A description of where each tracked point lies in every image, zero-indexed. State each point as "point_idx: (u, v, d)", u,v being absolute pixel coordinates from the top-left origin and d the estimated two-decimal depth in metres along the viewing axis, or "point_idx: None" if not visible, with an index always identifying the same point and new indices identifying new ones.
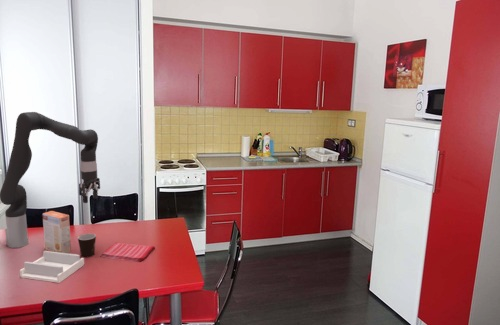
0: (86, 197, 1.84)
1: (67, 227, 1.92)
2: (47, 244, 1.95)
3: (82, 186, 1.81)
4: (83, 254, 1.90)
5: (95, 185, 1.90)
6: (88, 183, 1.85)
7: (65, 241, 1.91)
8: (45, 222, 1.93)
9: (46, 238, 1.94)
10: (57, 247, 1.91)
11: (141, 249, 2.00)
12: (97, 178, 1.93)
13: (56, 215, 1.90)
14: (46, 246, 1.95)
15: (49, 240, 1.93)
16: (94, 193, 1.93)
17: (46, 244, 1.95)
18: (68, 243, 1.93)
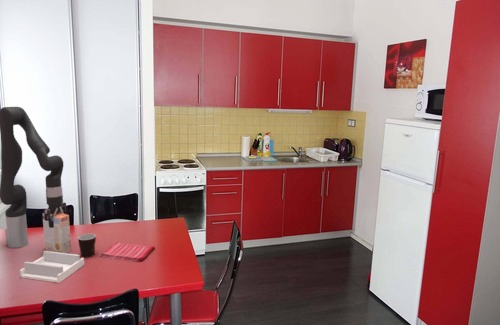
0: (52, 222, 1.89)
1: (67, 227, 1.92)
2: (47, 244, 1.95)
3: (47, 212, 1.85)
4: (83, 254, 1.90)
5: (61, 210, 1.94)
6: (53, 208, 1.89)
7: (65, 241, 1.91)
8: (45, 222, 1.93)
9: (46, 238, 1.94)
10: (57, 247, 1.91)
11: (141, 249, 2.00)
12: (64, 203, 1.97)
13: (56, 215, 1.90)
14: (46, 246, 1.95)
15: (49, 240, 1.93)
16: None
17: (46, 244, 1.95)
18: (68, 243, 1.93)
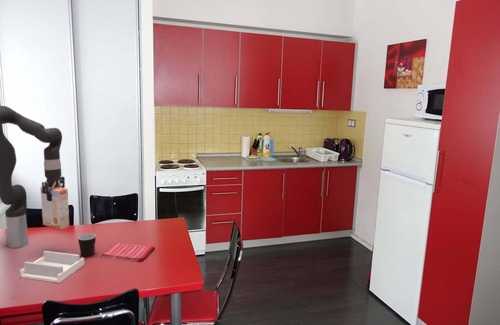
0: (50, 195, 1.86)
1: (66, 201, 1.89)
2: (44, 218, 1.92)
3: (45, 185, 1.82)
4: (83, 254, 1.90)
5: (59, 183, 1.91)
6: (51, 181, 1.86)
7: (63, 215, 1.88)
8: (43, 196, 1.90)
9: (44, 212, 1.91)
10: (55, 221, 1.88)
11: (141, 249, 2.00)
12: (62, 177, 1.94)
13: (54, 188, 1.87)
14: (44, 220, 1.93)
15: (47, 214, 1.90)
16: None
17: (44, 219, 1.92)
18: (66, 217, 1.90)
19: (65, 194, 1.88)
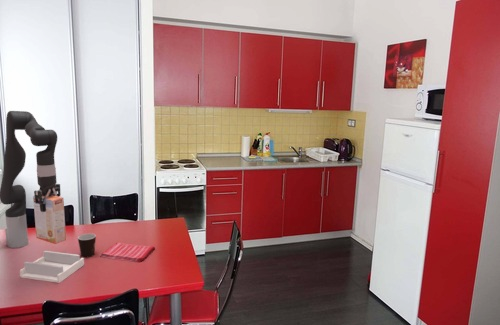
0: (44, 205, 1.65)
1: (62, 211, 1.68)
2: (38, 231, 1.71)
3: (38, 194, 1.61)
4: (83, 254, 1.90)
5: (54, 192, 1.70)
6: (45, 190, 1.65)
7: (59, 227, 1.68)
8: (36, 206, 1.69)
9: (38, 224, 1.71)
10: (50, 234, 1.67)
11: (141, 249, 2.00)
12: (57, 184, 1.74)
13: (48, 197, 1.67)
14: (37, 233, 1.72)
15: (41, 226, 1.70)
16: None
17: (37, 231, 1.72)
18: (62, 229, 1.70)
19: (61, 204, 1.67)
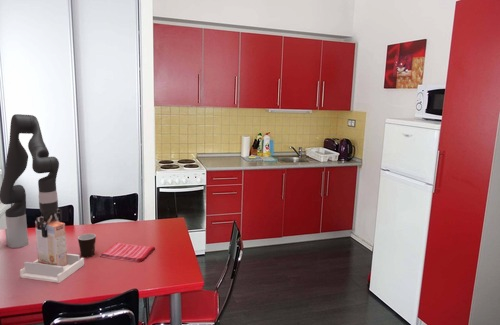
0: (46, 231, 1.68)
1: (63, 236, 1.70)
2: (40, 255, 1.74)
3: (40, 220, 1.64)
4: (83, 254, 1.90)
5: (56, 217, 1.73)
6: (47, 216, 1.68)
7: (60, 252, 1.70)
8: (38, 231, 1.72)
9: (39, 249, 1.73)
10: (51, 259, 1.70)
11: (141, 249, 2.00)
12: (59, 209, 1.76)
13: (50, 223, 1.69)
14: (39, 258, 1.74)
15: (43, 251, 1.72)
16: None
17: (39, 256, 1.74)
18: (64, 254, 1.72)
19: (62, 229, 1.70)
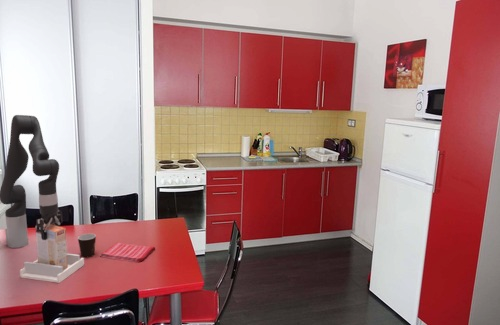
0: (45, 233, 1.67)
1: (64, 241, 1.71)
2: (40, 260, 1.74)
3: (40, 222, 1.64)
4: (83, 254, 1.90)
5: (56, 219, 1.73)
6: (47, 218, 1.68)
7: (61, 257, 1.71)
8: (38, 236, 1.72)
9: (40, 254, 1.73)
10: (52, 264, 1.70)
11: (141, 249, 1.99)
12: (59, 211, 1.76)
13: (51, 228, 1.70)
14: (39, 262, 1.75)
15: (43, 256, 1.73)
16: None
17: (39, 261, 1.74)
18: (64, 259, 1.72)
19: (63, 234, 1.70)
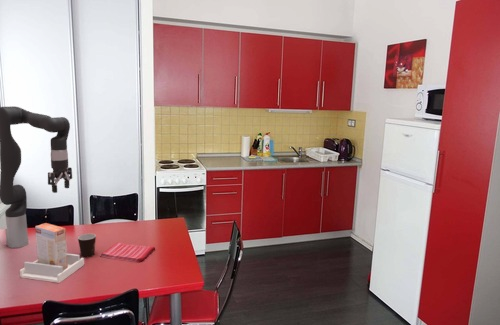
0: (55, 187, 1.79)
1: (64, 241, 1.71)
2: (40, 260, 1.74)
3: (51, 175, 1.75)
4: (83, 254, 1.90)
5: (66, 175, 1.84)
6: (58, 172, 1.79)
7: (61, 257, 1.71)
8: (38, 236, 1.72)
9: (40, 254, 1.73)
10: (52, 264, 1.70)
11: (141, 250, 1.99)
12: (69, 168, 1.87)
13: (51, 228, 1.70)
14: None
15: (43, 256, 1.73)
16: (65, 183, 1.87)
17: (39, 261, 1.74)
18: (64, 259, 1.72)
19: (63, 234, 1.70)
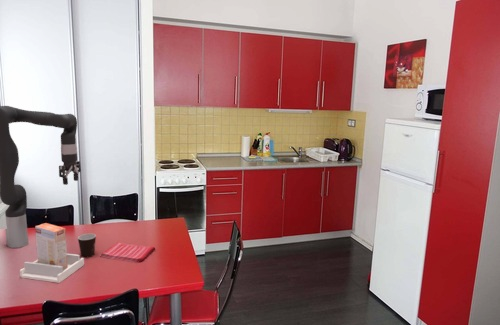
0: (66, 179, 1.91)
1: (64, 241, 1.71)
2: (40, 260, 1.74)
3: (62, 168, 1.88)
4: (83, 254, 1.90)
5: (75, 168, 1.97)
6: (68, 165, 1.92)
7: (61, 257, 1.71)
8: (38, 236, 1.72)
9: (40, 254, 1.73)
10: (52, 264, 1.70)
11: (141, 250, 1.99)
12: (77, 161, 2.00)
13: (51, 228, 1.70)
14: None
15: (43, 256, 1.73)
16: (75, 176, 2.00)
17: (39, 261, 1.74)
18: (64, 259, 1.72)
19: (63, 234, 1.70)
